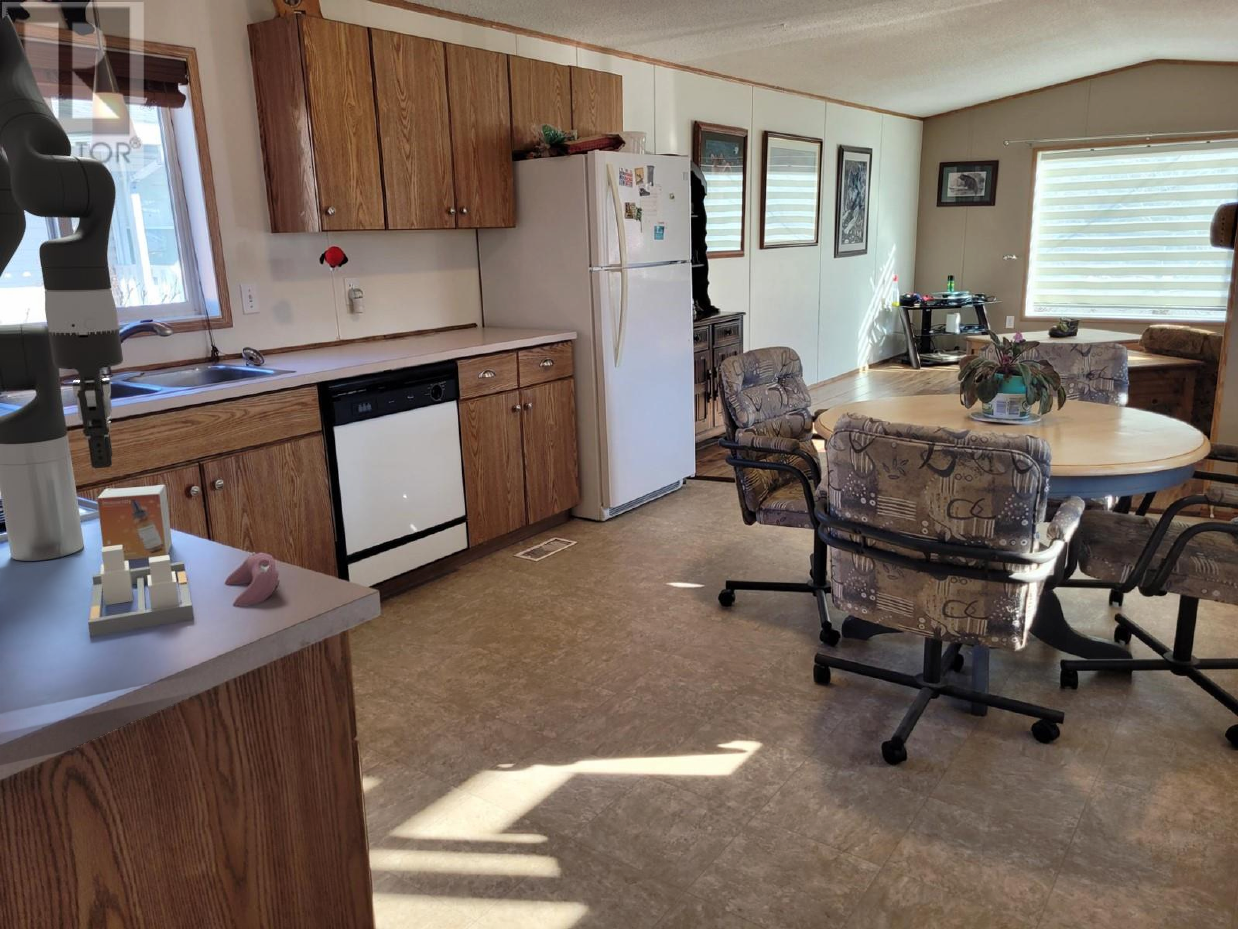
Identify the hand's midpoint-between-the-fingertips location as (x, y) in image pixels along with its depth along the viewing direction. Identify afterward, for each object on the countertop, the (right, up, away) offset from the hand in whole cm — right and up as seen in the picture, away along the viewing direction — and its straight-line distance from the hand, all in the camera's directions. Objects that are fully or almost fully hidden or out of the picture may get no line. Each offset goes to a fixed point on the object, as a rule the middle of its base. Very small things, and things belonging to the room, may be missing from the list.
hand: (102, 462), depth 114 cm
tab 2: (+11, -18, -5) cm, 22 cm away
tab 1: (+3, -17, -2) cm, 17 cm away
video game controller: (+19, -18, +1) cm, 26 cm away
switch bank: (+7, -19, -3) cm, 20 cm away
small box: (-3, -14, +15) cm, 21 cm away
